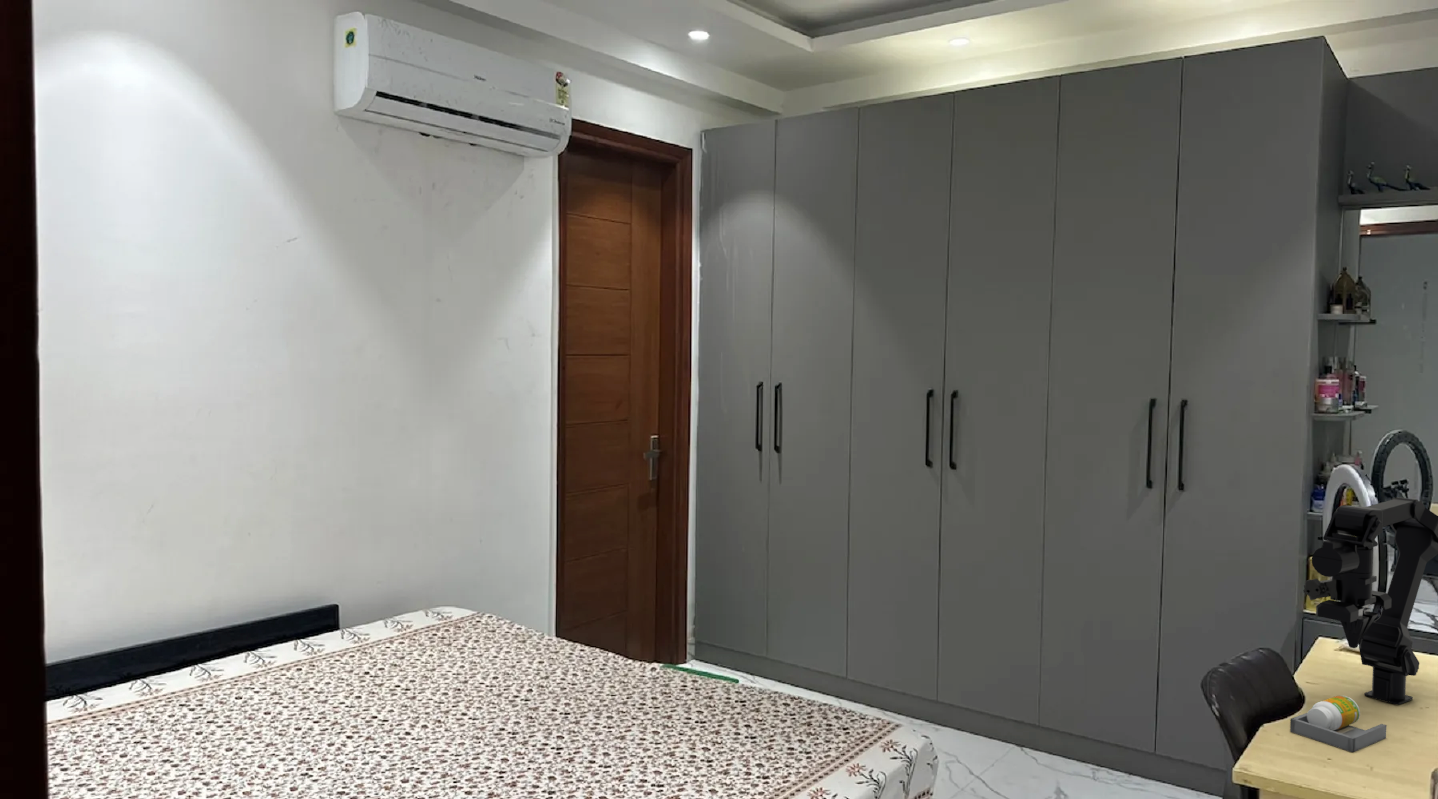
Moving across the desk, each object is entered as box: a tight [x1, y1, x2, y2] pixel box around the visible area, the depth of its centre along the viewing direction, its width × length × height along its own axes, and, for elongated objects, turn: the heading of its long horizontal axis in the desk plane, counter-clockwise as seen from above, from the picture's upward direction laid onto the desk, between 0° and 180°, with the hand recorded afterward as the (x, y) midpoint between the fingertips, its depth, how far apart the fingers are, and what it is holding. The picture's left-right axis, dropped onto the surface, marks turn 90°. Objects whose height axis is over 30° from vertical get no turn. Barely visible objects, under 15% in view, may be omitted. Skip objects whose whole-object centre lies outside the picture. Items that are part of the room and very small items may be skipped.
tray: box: [1289, 712, 1387, 753], centre depth 182 cm, size 12×11×2 cm
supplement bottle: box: [1306, 695, 1361, 731], centre depth 185 cm, size 5×5×10 cm
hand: (1353, 647), depth 194 cm, fingers closed
